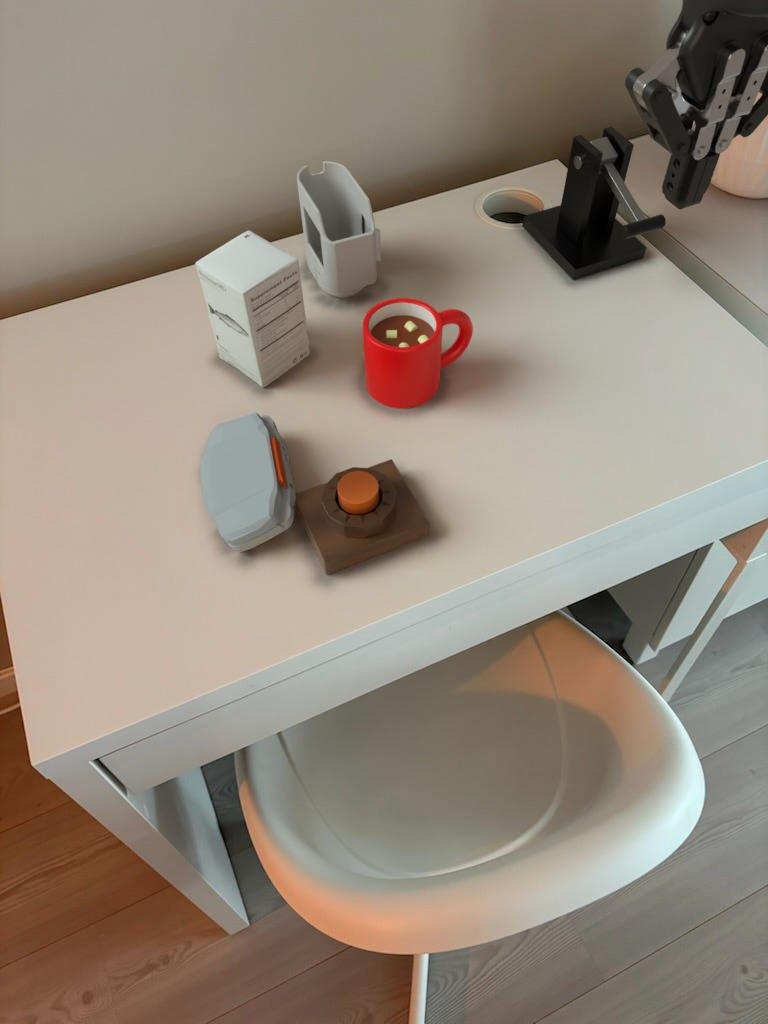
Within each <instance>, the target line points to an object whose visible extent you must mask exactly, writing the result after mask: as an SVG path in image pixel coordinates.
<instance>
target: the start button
mask: <svg viewBox="0 0 768 1024" xmlns="http://www.w3.org/2000/svg"><path fill="white" fill-rule="evenodd" d="M337 491H338V499H339V504H340V506H341V507H342V508H343V509H344V510H345V511H346V512H348V513H350V514H354V515H363V514H366V513H369V512H371V511H372V510H373V509H374V508H375V507H376V506H377V504H378V502H379V484H378V481H377V480H376V478H375V477H374V476H373V475H371V474H370V473H368V472H364V471H353V472H350V473H348V474H346V475H344V476H343V477H342V478H341V479H340V481H339V483H338V486H337Z"/></svg>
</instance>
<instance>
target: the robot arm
mask: <svg viewBox="0 0 768 1024" xmlns="http://www.w3.org/2000/svg"><path fill="white" fill-rule="evenodd" d="M681 4H682V5H681V10H680V13H679V14H678V17H677V19H676V21H675V23H673V25H672V27H671V29H670V31H669V32H668V35H667V38H666V44H665V48H666V49H665V51H664V52H663V53H662V55H660V57H659V58H658V59H657V60H655V62H653V64H652V65H651V66H650V67H649V68H648V69H647V70H646V71H645V70H644V69H643V68H641V67H635V68H633V69H631V70H630V72H629V73H628V74H627V76H626V77H625V81H624V82H625V83H624V85H625V89H626V90H627V92H628V95H629V96H630V98H631V100H632V103H633V105H634V107H635V109H636V110H637V113H638V114H639V117H640V119H641V120H642V122H643V124H644V127H645V129H646V131H647V133H648V135H649V136H650V139H652V140H653V141H654V142H655V143H657V144H658V145H659V146H660V147H662V148H663V149H664V150H666V151H667V152H668V153H670V157H669V161H668V164H667V168H666V171H665V174H664V178H663V182H662V185H661V193H662V194H663V195H664V198H665V199H666V201H668V202H669V203H670V204H672V205H673V206H674V207H675V208H676V209H677V210H683V209H687V208H689V207H694V206H696V205H699V204H700V203H701V202H702V200H703V197H704V194H706V192H707V190H708V189H709V187H710V186H711V183H712V178H713V176H714V172H715V170H716V168H717V165H718V162H719V159H720V155H721V154H723V153H724V152H726V151H727V150H728V149H729V148H730V145H731V144H732V141H733V139H735V138H736V137H738V136H741V137H742V138H748V137H750V136H751V135H752V134H753V133H754V132H755V130H757V128H759V126H760V125H761V124H762V122H764V120H765V119H766V118H767V117H768V0H682V3H681ZM759 93H760V94H761V96H760V97H759V98H758V99H757V97H758V95H759Z"/></svg>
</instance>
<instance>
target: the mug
mask: <svg viewBox="0 0 768 1024" xmlns="http://www.w3.org/2000/svg"><path fill="white" fill-rule="evenodd" d="M447 325H456V326H457V327H458V335H457V337H456V339H455V340H454V342H453V343H452V345H451V346H449V347H448V348H447V349H446V350H444V351H443V352H442V349H443V348H442V347H443V346H442V345H443V328H444V326H447ZM473 334H474V325H473V322H472V319H471V317H470V316H469V315H468V314H467V313H466V312H464V311H463V310H461V309H457V308H448V309H444V310H441V311H438V310H437V309H436V308H435V307H433V306H432V305H430V304H429V303H427V302H425V301H423V300H419V299H416V298H409V297H396V298H390V299H386V300H384V301H381V302H378V303H377V304H376V305H375V304H374V306H372V307H371V308H370V309H369V310H368V311H367V312H366V313H365V315H364V317H363V321H362V343H363V344H362V345H363V360H364V363H363V364H364V377H365V378H364V380H365V388H366V390H367V393H368V394H369V396H371V398H372V399H374V400H375V401H376V402H378V403H379V404H381V405H383V406H385V407H389V408H393V409H411V408H416V407H419V406H422V405H423V404H426V403H427V402H429V401H430V400H431V399H433V398H434V397H435V395H436V394H437V392H438V390H439V387H440V383H441V369H442V368H446V367H447V366H449V365H451V364H453V363H454V362H455V361H456V360H458V359H459V358H460V357H461V356H462V355H463V354H464V352H465V351H466V350H467V349H468V346H469V345H470V344H471V343H470V342H471V340H472V337H473Z"/></svg>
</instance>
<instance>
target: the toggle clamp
mask: <svg viewBox="0 0 768 1024" xmlns="http://www.w3.org/2000/svg"><path fill="white" fill-rule="evenodd" d="M603 137H607V138H608V139H609V141H610V143H611V144H612V146H613V148H614V149H615V151H616V153H617V154H618V157H617V159H616V161H615V162H614V164H613V165H614V166H615V168H616V170H617V171H618V173H619V175H620V176H621V178H622V180H623V181H624V183H625V181H626V177H627V173H628V171H629V170H628V169H629V166H630V162H631V158H632V154H633V150H634V146H635V145H634V143H632V142H631V141H630V140H629V139H628V138H627V137H625V136H624V135H623V134H621V133H620V132H619V131H618V130H616V129H615V128H614V127H613V126H608V127H604V128H603V132H602V137H601V138H603ZM602 155H603V153H602V152H601V151H599V150H598V149H597V148H596V147H595V146H594V145H592V144H591V143H590V141H589V140H588V139H587V138H586V137H584V135H582V134H578V135H575V136H573V138H572V143H571V149H570V155H569V160H568V165H567V171H566V176H565V180H564V187H563V192H562V197H561V202H560V205H557V206H552V207H550V208H545V209H543V210H539V211H536V212H532V213H529V214H525V215H523V218H522V224H521V227H522V228H523V230H525V231H526V232H527V234H529V236H530V237H531V238H532V239H533V240H534V241H535V242H536V243H537V244H538V245H539V246H540V247H541V248H542V249H543V250H544V251H545V252H546V253H547V254H548V256H549V257H550V258H551V259H552V260H553V261H554V262H555V263H556V264H557V265H558V266H559V267H560V269H561V270H563V271H564V272H565V273H566V275H567V276H568V277H569V278H570V279H571V280H572V281H575V280H578V279H581V278H585V277H588V276H591V275H594V274H597V273H600V272H603V271H606V270H610V269H613V268H615V267H619V266H623V265H625V264H628V263H632V262H635V261H637V260H642V259H644V257H645V254H646V251H647V246H646V245H645V244H644V243H643V242H642V241H641V240H639V238H637V236H635V237H631V238H628V239H625V240H623V239H622V238H621V237H620V234H619V229H620V227H621V226H624V225H623V224H622V223H621V221H619V220H618V219H617V218H616V217H617V213H618V209H619V205H620V202H619V201H618V199H617V197H616V196H615V194H614V192H613V191H612V189H611V187H610V186H609V184H608V182H607V181H606V179H605V177H604V176H603V174H598V173H599V169H600V164H601V160H602Z"/></svg>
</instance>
